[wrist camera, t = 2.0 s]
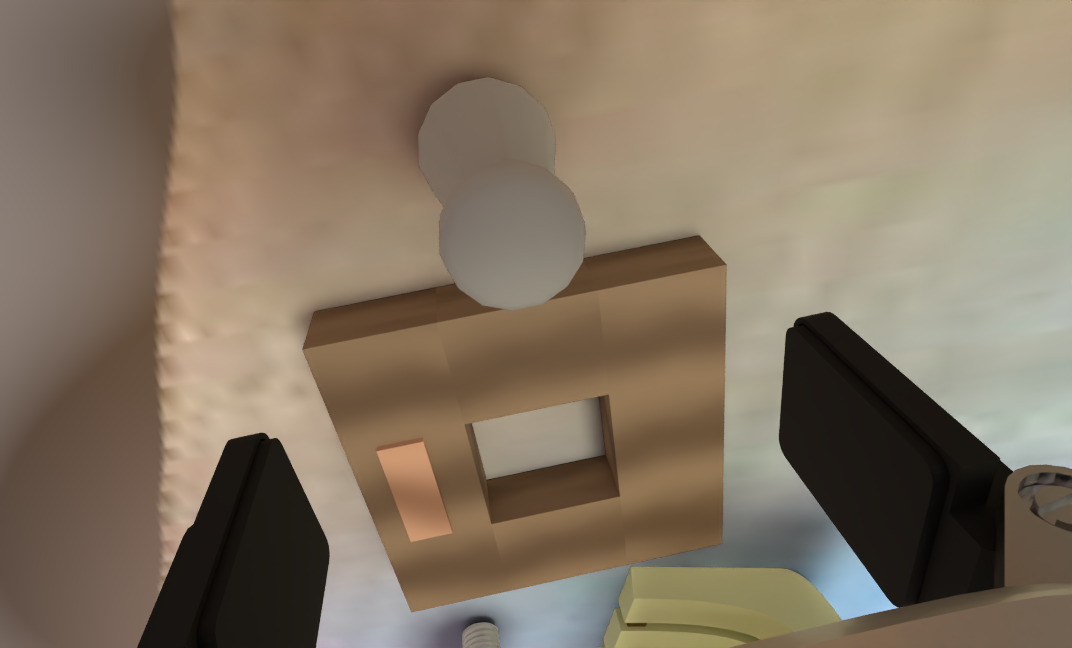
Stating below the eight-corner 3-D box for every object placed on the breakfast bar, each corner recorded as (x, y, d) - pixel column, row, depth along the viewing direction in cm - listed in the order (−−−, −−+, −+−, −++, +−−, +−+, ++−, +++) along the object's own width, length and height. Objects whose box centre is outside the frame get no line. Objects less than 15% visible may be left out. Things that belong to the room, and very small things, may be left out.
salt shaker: (542, 199, 30) (606, 343, 19) (421, 198, 30) (416, 348, 19) (550, 69, 27) (631, 152, 16) (416, 64, 27) (406, 148, 16)
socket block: (314, 311, 32) (301, 353, 28) (699, 235, 33) (729, 267, 29) (412, 565, 42) (411, 616, 39) (702, 502, 43) (724, 547, 40)
